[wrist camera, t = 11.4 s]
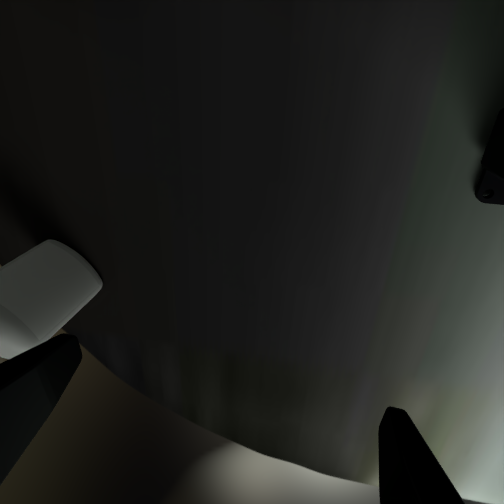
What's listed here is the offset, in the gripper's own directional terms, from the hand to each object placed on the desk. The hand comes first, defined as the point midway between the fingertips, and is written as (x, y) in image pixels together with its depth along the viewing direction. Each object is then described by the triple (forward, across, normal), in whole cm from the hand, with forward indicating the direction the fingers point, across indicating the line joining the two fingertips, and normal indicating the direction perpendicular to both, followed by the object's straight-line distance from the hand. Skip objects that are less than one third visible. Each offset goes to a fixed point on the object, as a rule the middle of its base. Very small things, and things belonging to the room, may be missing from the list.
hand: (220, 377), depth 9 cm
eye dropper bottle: (+13, +16, +8) cm, 23 cm away
